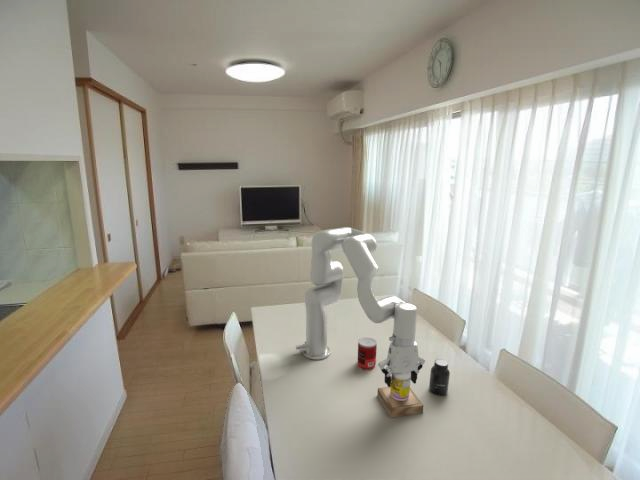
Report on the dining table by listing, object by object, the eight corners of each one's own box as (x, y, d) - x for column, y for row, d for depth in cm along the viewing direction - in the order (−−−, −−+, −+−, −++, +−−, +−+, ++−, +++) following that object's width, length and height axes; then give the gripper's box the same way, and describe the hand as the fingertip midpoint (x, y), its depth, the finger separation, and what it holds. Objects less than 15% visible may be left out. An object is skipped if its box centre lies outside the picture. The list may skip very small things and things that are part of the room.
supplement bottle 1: (386, 392, 127) (388, 360, 124) (401, 388, 129) (403, 356, 126) (397, 403, 121) (399, 370, 118) (412, 399, 123) (415, 366, 120)
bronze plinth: (390, 417, 118) (391, 409, 118) (377, 395, 130) (377, 387, 129) (422, 412, 121) (423, 404, 120) (407, 391, 132) (407, 383, 132)
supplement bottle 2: (438, 398, 129) (441, 369, 126) (425, 388, 134) (427, 360, 132) (451, 393, 132) (454, 364, 129) (438, 383, 138) (440, 355, 135)
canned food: (377, 362, 151) (378, 339, 149) (372, 372, 144) (373, 347, 142) (360, 358, 155) (361, 335, 152) (354, 367, 147) (355, 343, 145)
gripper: (384, 346, 115) (381, 392, 118) (432, 341, 118) (428, 386, 122) (376, 336, 122) (373, 379, 125) (421, 331, 125) (417, 374, 129)
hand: (400, 382), depth 124 cm, fingers open, 9 cm apart
